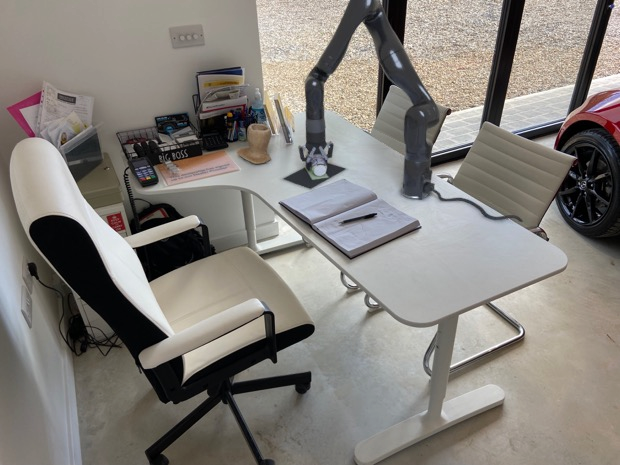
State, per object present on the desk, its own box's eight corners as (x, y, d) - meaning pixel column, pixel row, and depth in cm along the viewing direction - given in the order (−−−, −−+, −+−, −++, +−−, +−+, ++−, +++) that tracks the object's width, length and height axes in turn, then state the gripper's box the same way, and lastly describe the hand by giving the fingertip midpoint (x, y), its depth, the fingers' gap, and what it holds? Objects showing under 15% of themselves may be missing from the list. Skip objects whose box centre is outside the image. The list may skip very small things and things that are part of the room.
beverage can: (322, 150, 201) (331, 161, 191) (318, 166, 205) (326, 178, 195) (308, 147, 199) (316, 159, 189) (303, 164, 202) (311, 176, 192)
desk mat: (345, 169, 201) (345, 168, 201) (310, 188, 187) (310, 187, 187) (319, 161, 209) (318, 159, 208) (283, 179, 195) (283, 178, 194)
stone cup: (278, 160, 210) (275, 126, 203) (254, 168, 205) (250, 133, 197) (259, 150, 221) (256, 117, 213) (236, 157, 215) (232, 123, 207)
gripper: (330, 123, 193) (331, 162, 202) (294, 127, 190) (296, 167, 199) (336, 129, 187) (336, 170, 196) (299, 134, 184) (301, 175, 193)
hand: (316, 168), depth 197 cm, fingers open, 6 cm apart
